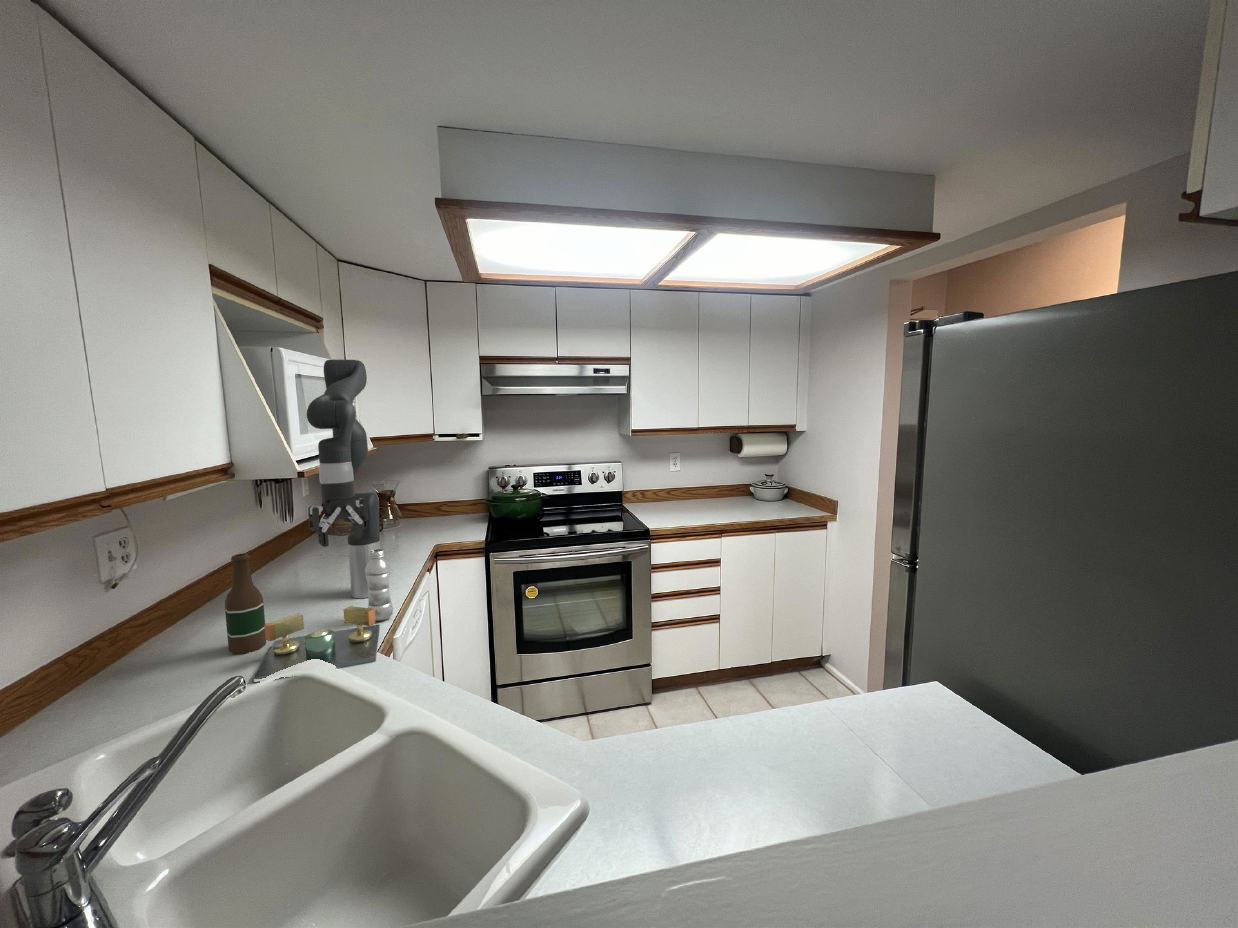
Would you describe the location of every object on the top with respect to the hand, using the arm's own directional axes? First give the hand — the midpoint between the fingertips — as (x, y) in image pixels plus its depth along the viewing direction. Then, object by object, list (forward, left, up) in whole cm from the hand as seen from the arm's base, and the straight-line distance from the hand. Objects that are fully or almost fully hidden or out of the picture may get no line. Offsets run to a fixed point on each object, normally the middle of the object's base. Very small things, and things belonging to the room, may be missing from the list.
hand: (341, 541), depth 129 cm
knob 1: (+5, -13, -24) cm, 28 cm away
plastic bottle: (-10, +7, -26) cm, 29 cm away
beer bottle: (-4, -23, -26) cm, 35 cm away
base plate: (+7, -5, -26) cm, 27 cm away
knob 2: (+5, +3, -24) cm, 25 cm away
